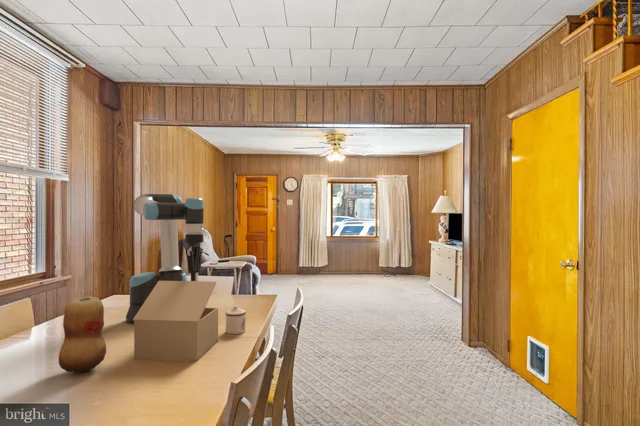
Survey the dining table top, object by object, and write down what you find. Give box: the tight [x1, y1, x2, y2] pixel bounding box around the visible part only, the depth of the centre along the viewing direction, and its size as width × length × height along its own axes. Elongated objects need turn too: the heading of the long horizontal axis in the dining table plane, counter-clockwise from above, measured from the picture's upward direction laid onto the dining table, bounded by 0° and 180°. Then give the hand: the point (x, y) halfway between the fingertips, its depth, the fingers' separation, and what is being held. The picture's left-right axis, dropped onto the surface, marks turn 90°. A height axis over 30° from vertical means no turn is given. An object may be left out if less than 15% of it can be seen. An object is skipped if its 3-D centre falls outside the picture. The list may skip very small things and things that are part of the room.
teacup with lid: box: [224, 305, 247, 335], centre depth 177 cm, size 12×9×12 cm
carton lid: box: [133, 280, 217, 323], centre depth 150 cm, size 25×22×1 cm
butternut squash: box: [58, 296, 107, 374], centre depth 131 cm, size 14×13×25 cm
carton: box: [133, 307, 219, 362], centre depth 152 cm, size 24×22×14 cm
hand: (194, 287), depth 167 cm, fingers closed
